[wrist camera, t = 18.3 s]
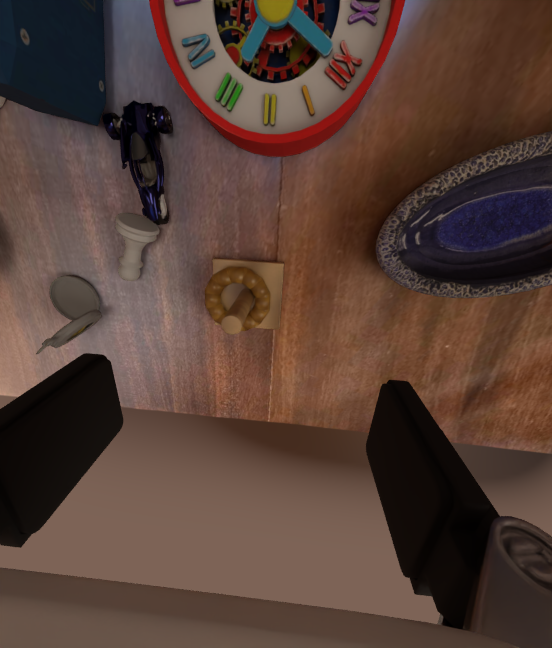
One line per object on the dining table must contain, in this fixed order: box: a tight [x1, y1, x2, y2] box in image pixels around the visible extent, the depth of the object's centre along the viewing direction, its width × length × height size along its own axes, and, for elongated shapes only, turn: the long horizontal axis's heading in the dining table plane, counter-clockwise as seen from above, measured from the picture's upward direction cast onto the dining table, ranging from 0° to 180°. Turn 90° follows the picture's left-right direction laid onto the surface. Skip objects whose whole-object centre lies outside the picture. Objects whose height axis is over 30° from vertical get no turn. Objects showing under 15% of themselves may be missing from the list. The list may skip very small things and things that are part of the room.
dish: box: [376, 131, 552, 298], centre depth 28 cm, size 16×31×5 cm, turn 101°
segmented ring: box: [205, 267, 271, 331], centre depth 34 cm, size 8×8×2 cm
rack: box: [212, 257, 284, 335], centre depth 31 cm, size 9×9×11 cm
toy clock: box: [149, 0, 405, 157], centre depth 23 cm, size 20×6×20 cm
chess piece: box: [115, 213, 160, 281], centre depth 33 cm, size 5×5×8 cm
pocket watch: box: [36, 276, 102, 354], centre depth 33 cm, size 8×8×10 cm
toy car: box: [103, 100, 173, 225], centre depth 29 cm, size 12×6×4 cm, turn 5°
